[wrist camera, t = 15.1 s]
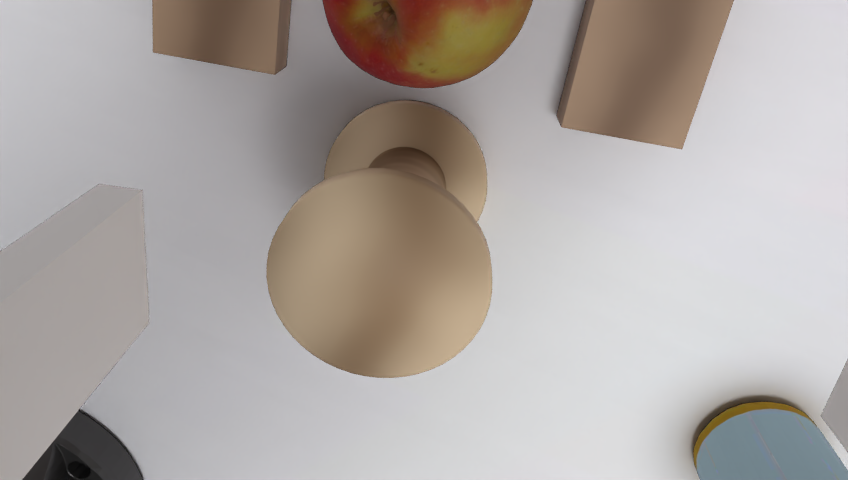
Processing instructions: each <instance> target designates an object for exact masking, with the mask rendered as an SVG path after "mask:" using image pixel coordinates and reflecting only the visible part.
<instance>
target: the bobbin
mask: <svg viewBox="0 0 848 480" xmlns="http://www.w3.org/2000/svg"><path fill="white" fill-rule="evenodd" d="M486 194H487V172H486V164H485V160H484V157H483V153H482V151H481V149H480V146H479V144H478V143H477V141H476V139H475V138H474V136H473V135H472V133H471V132H470V131H469V130H468V128H467V127H466V126H465V125H464V124H463V123H462V122H461V121H460V120H458V119H457V118H456V117H454V116H453V115H452V114H450V113H448V112H447V111H445V110H443V109H441V108H439V107H436V106H434V105H431V104H428V103H424V102H420V101H411V100H397V101H390V102H385V103H382V104H378V105H376V106H373V107H371V108H369V109H367V110H365V111H364V112H362V113H360V114H359V115H357V116H356V117H355V118H354V119H352V120H351V121H350V122H349V123H348V124H347V125H346V127H345V128H344V129H343V130H342V132H341V133H340V135H339V136H338V137H337V139H336V141H335V142H334V144H333V146H332V148H331V150H330V152H329V155H328V158H327V161H326V165H325V171H324V181H322V182H320V183H318V184H317V185H315V186H313V187H312V188H311V189H310V190H308V191H307V192H306V193H305V194H303V195H302V196H301V197H300V198H299V199H298V200H297V202H296V203H295V204H294V205H293V206H292V208H291V209H290V210H289V212H288V213H287V215H286V216H285V218H284V219H283V221H282V222H281V224H280V225H279V227H278V229H277V231H276V233H275V235H274V237H273V239H272V242H271V246H270V249H269V252H268V259H267V284H268V290H269V294H270V297H271V301H272V304H273V306H274V308H275V311H276V313H277V315H278V317H279V318H280V320H281V322H282V323H283V325H284V326H285V328H286V329H287V330H288V332H289V333H290V334H291V335H292V337H293V338H294V339H295V340H296V341H297V342H298V343H299V344H300V345H301V346H303V347H304V348H305V349H306V350H308V351H309V352H310V353H311V354H313V355H314V356H316V357H317V358H319V359H321V360H322V361H324V362H326V363H328V364H330V365H332V366H334V367H336V368H339V369H341V370H344V371H347V372H350V373H354V374H358V375H363V376H369V377H377V378H394V377H405V376H410V375H415V374H419V373H422V372H425V371H428V370H431V369H433V368H435V367H438V366H440V365H442V364H444V363H445V362H447V361H448V360H450V359H452V358H453V357H455V356H456V355H457V354H458V353H459V352H461V351H462V350H463V349H464V348H465V347H466V346H467V345H468V344H469V343H470V342H471V341H472V340H473V338H474V337H475V335H476V334H477V332H478V331H479V330H480V328H481V326H482V324H483V322H484V320H485V318H486V315H487V312H488V309H489V306H490V300H491V294H492V268H491V259H490V252H489V249H488V245H487V242H486V239H485V237H484V235H483V232H482V230H481V228H480V226H479V225H478V223H477V221H478V220H479V217H480V215H481V213H482V211H483V208H484V204H485V201H486Z"/></svg>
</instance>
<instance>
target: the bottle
mask: <svg viewBox="0 0 848 480" xmlns="http://www.w3.org/2000/svg"><path fill="white" fill-rule="evenodd" d="M694 464H695V467H696V469H697V473H698V476H699V478H700V480H848V470H847V469H846V467H845V466H844V464H843V463H842V461H841V460H840V458H839V457H838V456H837V454H836V453H835V451H834V450H833V448H832V447H831V445H830V444H829V442H828V441H827V440H826V438H825V437H824V435H823V434H822V432H821V431H820V429H819V428H818V427H817V426H816V425H815V423H814V422H813V421H812V420H811V419H810V418H809V417H808V416H807V415H806V414H805V413H804V412H802V411H800V410H798V409H796V408H794V407H792V406H789V405H786V404H780V403H773V402H752V403H744V404H741V405H738V406H735V407H732V408H729V409H727V410H725V411H724V412H722V413H721V414H719V415H718V416H716V417H715V418H713V419H712V421H711V422H710V423H709V424H708V425H707V426H706V427H705V429H704V430H703V431H702V432H701V433H700V435H699V437H698V439H697V442H696V444H695V447H694Z"/></svg>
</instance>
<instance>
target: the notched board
mask: <svg viewBox="0 0 848 480" xmlns="http://www.w3.org/2000/svg"><path fill="white" fill-rule="evenodd" d="M733 1H734V0H586V3H585V7H584V11H583V15H582V19H581V22H580V26H579V30H578V34H577V38H576V42H575V46H574V50H573V53H572V57H571V61H570V65H569V69H568V73H567V77H566V81H565V85H564V88H563V92H562V96H561V100H560V104H559V108H558V112H557V118H558V121H559V123H560V125H561V127H563V128H569V129H574V130H579V131H585V132H590V133H596V134H601V135H607V136H612V137H618V138H623V139H629V140H634V141H640V142H645V143H650V144H656V145H661V146H667V147H672V148H678V149H682V148H683V145H684V142H685V139H686V136H687V133H688V131H689V128H690V125H691V122H692V119H693V116H694V113H695V111H696V108H697V105H698V102H699V99H700V96H701V93H702V90H703V88H704V85H705V82H706V79H707V76H708V73H709V70H710V67H711V65H712V62H713V59H714V56H715V53H716V50H717V47H718V44H719V42H720V39H721V36H722V33H723V30H724V27H725V24H726V21H727V19H728V16H729V13H730V10H731V7H732V4H733ZM152 6H153V52H154V53H159V54H165V55H170V56H176V57H181V58H186V59H192V60H197V61H203V62H208V63H214V64H219V65H225V66H230V67H236V68H241V69H246V70H252V71H257V72H263V73H268V74H274V75H275V74H276V73H278V72H279V71H281V70H282V69H283V68H285V67H286V63H287V50H288V37H289V24H290V11H291V0H152Z"/></svg>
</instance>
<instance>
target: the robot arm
mask: <svg viewBox="0 0 848 480" xmlns="http://www.w3.org/2000/svg"><path fill="white" fill-rule="evenodd" d="M148 324H149V305H148V287H147V268H146V250H145V231H144V213H143V194H142V190H139V189H132V188H125V187H118V186H111V185H103V184H98V185H97V186H95V187H94V188H92V189H91V190H89V191H88V192H87V193H85V194H84V195H82V196H81V197H79V198H78V199H76V200H75V201H73V202H72V203H70V204H69V205H67V206H66V207H65V208H63V209H62V210H60V211H59V212H57V213H56V214H54V215H53V216H51V217H50V218H48V219H47V220H46V221H44V222H43V223H41V224H40V225H38V226H37V227H35V228H34V229H32V230H31V231H29V232H28V233H26V234H25V235H24V236H22V237H21V238H19V239H18V240H16V241H15V242H13V243H12V244H10V245H9V246H7V247H6V248H5V249H3V250H2V251H0V480H142V477H141V475H140V473H139V470H138V468H137V467H136V465H135V463H134V461H133V460H132V458H131V457H130V455H129V454H128V453H127V451H126V450H125V449H124V448H123V447H122V445H121V444H120V443H119V442H118V441H117V440H116V439H115V438H114V437H113V436H112V435H111V434H110V433H109V432H108V431H106V430H105V429H104V428H103V427H102V426H100V425H99V424H98V423H96V422H95V421H93V420H92V419H90V418H89V417H87V416H86V415H84V414H82V413H81V412H79V411H78V410H79V409H80V408H81V406H82V405H83V404H84V403H85V402H86V400H87V399H88V398H89V397H90V395H91V394H92V393H93V392H94V390H95V389H96V388H97V387H98V385H99V384H100V383H101V382H102V381H103V379H104V378H105V377H106V376H107V374H108V373H109V372H110V371H111V369H112V368H113V367H114V366H115V365H116V363H117V362H118V361H119V360H120V358H121V357H122V356H123V355H124V353H125V352H126V351H127V350H128V348H129V347H130V346H131V345H132V344H133V342H134V341H135V340H136V339H137V337H138V336H139V335H140V334H141V332H142V331H143V330H144V329H145V328H146V326H147V325H148ZM821 417H822V418H823V420H824V421H825V422H826V424H827V425H828V426H829V428H830V429H831V431H832V432H833V433H834V435H835V436H836V437H837V439H838V440H839V441H840V443H841V444H842V445H843V447H844V448H845V449H846V451H847V452H848V359H847V362H846V364H845V366H844V368H843V370H842V372H841V374H840V376H839V378H838V380H837V383H836V385H835V387H834V389H833V391H832V393H831V395H830V397H829V399H828V401H827V403H826V406H825V408H824V410H823V412H822V414H821Z"/></svg>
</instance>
